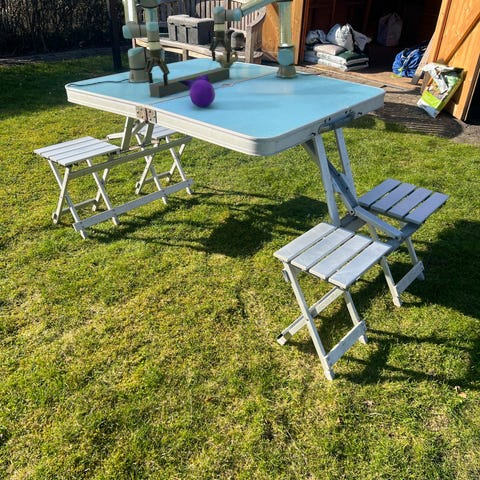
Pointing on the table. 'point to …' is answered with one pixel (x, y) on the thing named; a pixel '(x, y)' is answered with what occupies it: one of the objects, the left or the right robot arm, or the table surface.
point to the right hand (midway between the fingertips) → (221, 61)
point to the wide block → (176, 86)
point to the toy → (201, 91)
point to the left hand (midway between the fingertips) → (158, 84)
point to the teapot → (223, 59)
